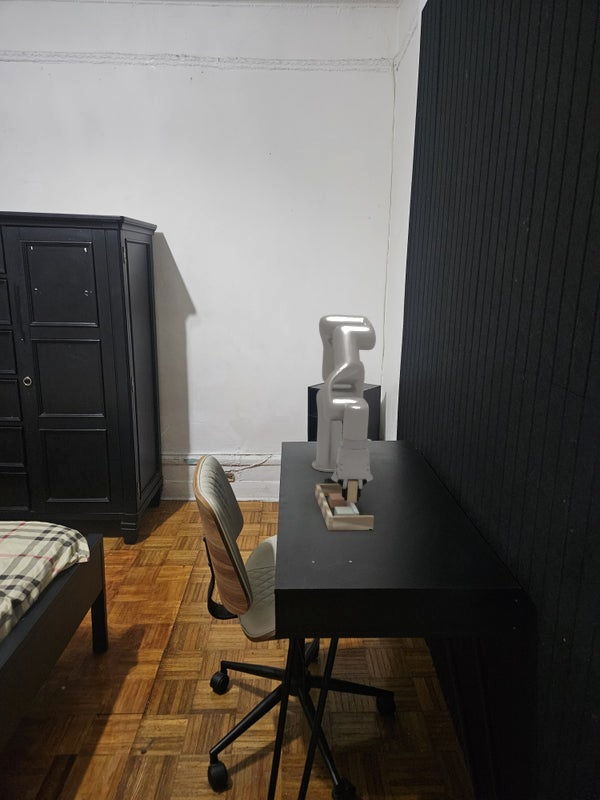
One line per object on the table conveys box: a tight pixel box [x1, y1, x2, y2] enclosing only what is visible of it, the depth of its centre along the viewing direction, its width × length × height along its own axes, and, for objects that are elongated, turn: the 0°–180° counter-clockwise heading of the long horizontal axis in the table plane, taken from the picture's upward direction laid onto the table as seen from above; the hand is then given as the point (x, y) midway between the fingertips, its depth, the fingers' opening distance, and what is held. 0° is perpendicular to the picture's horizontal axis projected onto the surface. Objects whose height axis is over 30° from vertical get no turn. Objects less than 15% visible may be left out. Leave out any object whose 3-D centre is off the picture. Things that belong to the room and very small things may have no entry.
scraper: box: [346, 479, 360, 515], centre depth 168 cm, size 18×3×10 cm, turn 7°
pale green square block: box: [333, 506, 354, 516], centre depth 163 cm, size 5×5×3 cm
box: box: [314, 483, 375, 531], centre depth 168 cm, size 26×13×4 cm, turn 7°
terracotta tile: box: [327, 493, 347, 509], centre depth 173 cm, size 5×5×3 cm
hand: (350, 498), depth 168 cm, fingers closed on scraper, 3 cm apart
